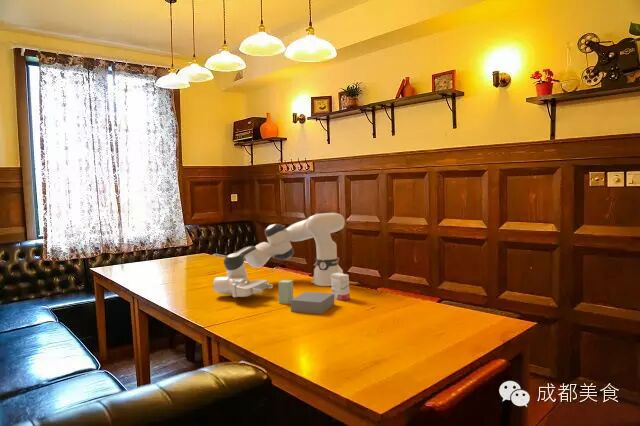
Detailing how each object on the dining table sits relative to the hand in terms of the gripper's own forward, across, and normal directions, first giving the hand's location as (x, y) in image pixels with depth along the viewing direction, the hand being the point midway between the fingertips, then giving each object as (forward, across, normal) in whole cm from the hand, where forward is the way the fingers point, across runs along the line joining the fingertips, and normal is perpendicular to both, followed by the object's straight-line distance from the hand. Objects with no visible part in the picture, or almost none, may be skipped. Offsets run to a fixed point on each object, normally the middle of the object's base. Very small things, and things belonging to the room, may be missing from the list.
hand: (267, 288), depth 211 cm
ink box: (+32, -14, -6) cm, 35 cm away
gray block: (+26, +5, -6) cm, 27 cm away
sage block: (+10, 0, -6) cm, 11 cm away
